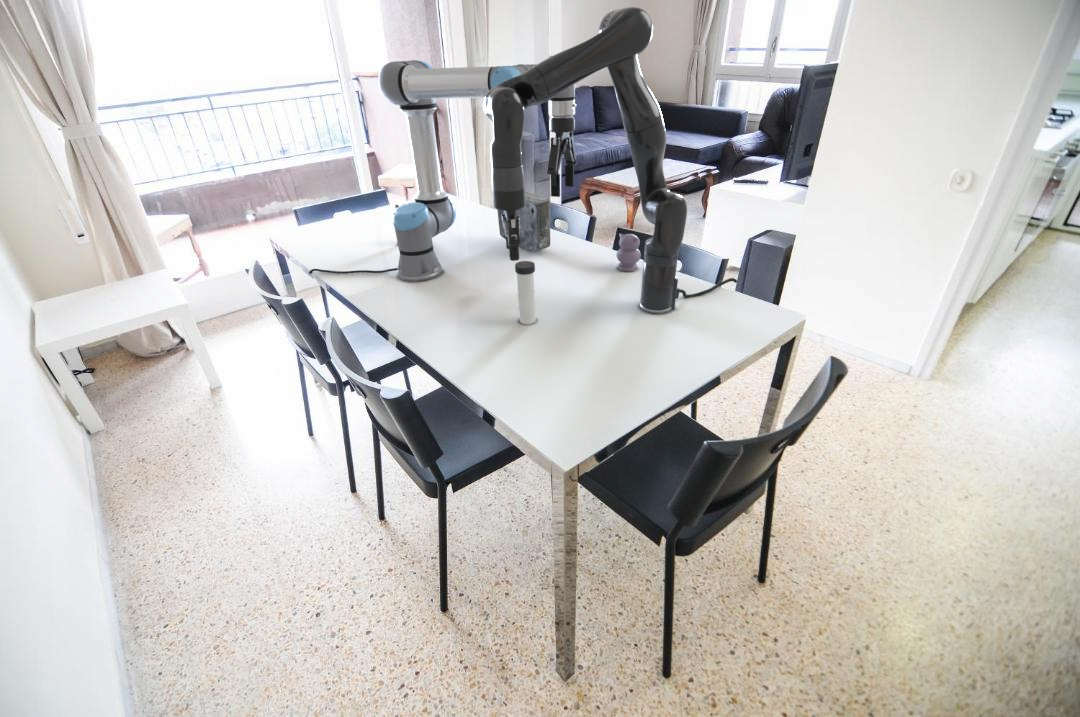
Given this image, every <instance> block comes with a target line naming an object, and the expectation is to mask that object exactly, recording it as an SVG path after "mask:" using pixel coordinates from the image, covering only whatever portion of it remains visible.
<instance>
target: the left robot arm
mask: <svg viewBox="0 0 1080 717" xmlns="http://www.w3.org/2000/svg"><path fill="white" fill-rule="evenodd" d="M551 56H552V55H549V56H548V57H547V59H548V58H549V57H551ZM537 64H538V63H537ZM537 64H533V63H531V64H529V63H528V64H524V63H521V64H513V65H499V66H498V65H497V66H469V67H468V66H467V67H466V66H465V67H464V66H463V67H433V66H431V65H430V64H429V63H428V62H425V61H424V60H423V61H422V60H416V59H412V60H400V61H399V60H398V61H397V60H395V61H391V62H387V63H386V64H384V65H383V66H382V67H381V69H380V71H379V72H378V77H377V85H378V89H379V92H380V93H381V95H382V96H383V97H384V99H385V100H387V101H388V102H389V103H390V104H393V105H396V106H399V111H400V112H401V113H403V114H404V116H405V119H406V124H407V125H406V126H407V132H408V137H409V144H410V151H411V156H412V162H413V170H414V175H415V176H414V177H415V182H416V187H417V192H416V193H415V194H414V202H409V203H407V204H406V203H404V204H402V205H400V206H399V205H398V206H399V207H398V208H395V209H394V210H393V213H392V219H393V221H392V224H393V227H394V230H395V231H394V232H395V236H396V243H397V242H398V245H397V247H398V251H399V259H398V265H397V267H395V268H387V269H381V270H371V269H370V270H366V269H364V270H363V269H360V270H358V269H357V270H346V271H343V270H341V271H340V270H330V269H320V268H312V269H310V270H309V271H308V274H312V273H313V272H318V273H319V272H320V273H329V274H337V275H339V274H341V275H344V274H345V275H346V274H358V273H359V274H361V273H362V274H363V273H364V274H383V273H384V274H385V273H389V272H394V271H397V276H398V278H399V279H400V280H402V281H406V282H413V283H414V282H425V281H429V280H432V279H435V278H438V277H439V276H440V275H441V274H442V273H443V268H442V264H441V263H440V260H439V259H438V256H437V254H436V252H435V250H434V243H433V238H434V237H436V236H438V235H439V234H441V233H444V232H446V231H447V230H449V228H451V227H452V226H453V225H454V223H455V221H456V216H457V212H456V207H455V205H454V202H452V201H451V199H450V198H449V194H448V192H447V191H445V190H444V188H443V182H442V174H441V167H440V160H439V153H438V152H439V151H438V145H437V137H436V130H435V122H434V113H435V111H436V110H437V101H436V100H437V99H439V100H440V99H484V97H485V95H486V94H487V92H488V91H489V90H490V89H492V88H493V87H495V86H496V85H498V84H500V83H502V82H505V81H507V80H509V79H511V78H514V77H516V76H519V75H521V74H523V73H525V72H526V71H528V70H529V69H530V68H532V67H534V66H535V65H537ZM575 97H576V84H574V85H572V86H571V87H569V88H568V89H566V90H564V91H563V92H561V93H559V94H558V95H556V96H554V97H553V98H551V99H549V100H548V115H549V116H550V117H549V120H548V121H549V123H548V124H549V132H551V133H554V137H550V148H549V154H548V165H547V170H546V172H547V175H550V197H552V198H553V197H554V198H555V197H556V198H560V197H561V174H560V169H561V163H562V159H564V161H565V165H564V187H569V188H571V187H575V165H577V164H578V163H577V154H576V149H575V143H574V131H575V130H576V118H575V117H574V116H575V114H576V108H577V104H576V98H575ZM563 157H564V158H563Z"/></svg>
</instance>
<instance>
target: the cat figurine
mask: <svg viewBox="0 0 1080 717" xmlns="http://www.w3.org/2000/svg"><path fill="white" fill-rule="evenodd" d="M618 236H619V241H618V245H619V247H620V248H619V249H618V250H617V252H616V258H617V260H618V266H617V267H618V270H619V271H623V272H635V271H636V270H637V268H638V264H637V263H638V262H639V261H640V260H641V257H642V254H641V253H642V252H641V251H640V250H639V247H640V245H641V241H640V238H639V237H638V236H637V235H635V234H633V233H625V234H623V233H620V232H618Z"/></svg>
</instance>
